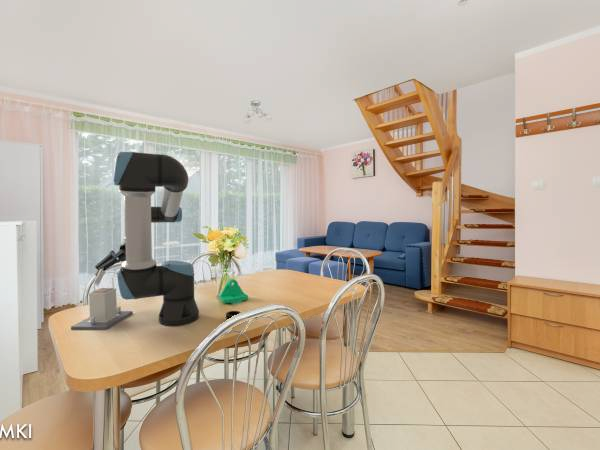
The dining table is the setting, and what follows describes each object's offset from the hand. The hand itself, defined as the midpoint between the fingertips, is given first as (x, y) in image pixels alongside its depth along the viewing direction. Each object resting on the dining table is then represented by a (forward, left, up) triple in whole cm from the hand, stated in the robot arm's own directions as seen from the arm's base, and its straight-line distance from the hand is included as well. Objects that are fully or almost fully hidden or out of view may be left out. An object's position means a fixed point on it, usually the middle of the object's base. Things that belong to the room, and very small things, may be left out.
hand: (111, 284), depth 125 cm
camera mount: (-46, -21, -14) cm, 52 cm away
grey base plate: (0, +6, -13) cm, 15 cm away
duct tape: (-51, +3, -14) cm, 53 cm away
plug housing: (0, +6, -12) cm, 14 cm away
